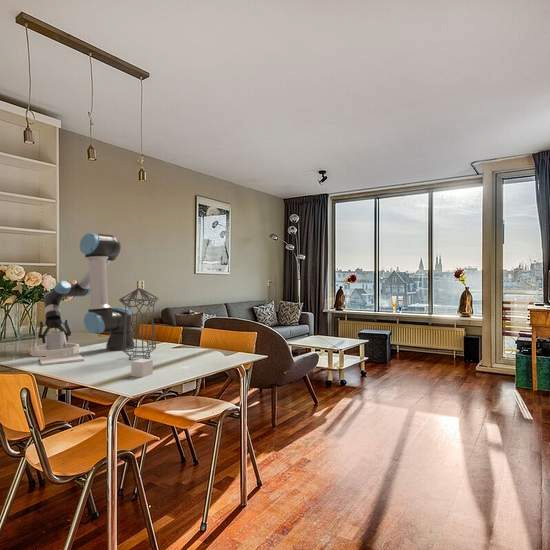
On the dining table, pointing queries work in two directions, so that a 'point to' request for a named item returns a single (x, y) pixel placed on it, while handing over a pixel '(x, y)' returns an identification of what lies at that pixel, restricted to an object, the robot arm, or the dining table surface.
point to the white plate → (44, 352)
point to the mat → (60, 359)
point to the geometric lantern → (136, 321)
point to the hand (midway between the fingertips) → (56, 346)
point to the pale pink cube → (141, 367)
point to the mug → (55, 340)
